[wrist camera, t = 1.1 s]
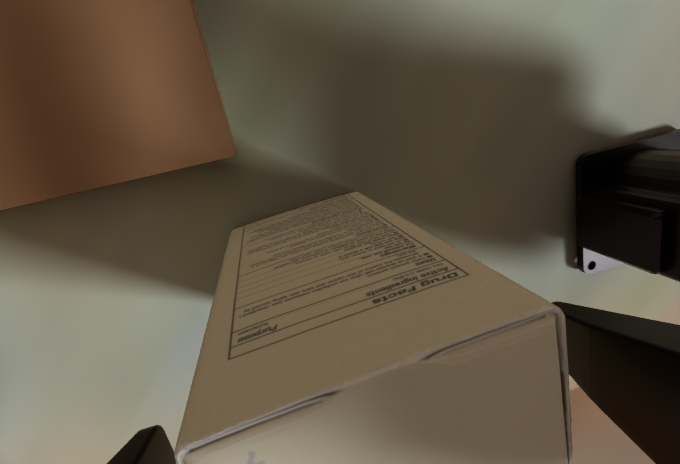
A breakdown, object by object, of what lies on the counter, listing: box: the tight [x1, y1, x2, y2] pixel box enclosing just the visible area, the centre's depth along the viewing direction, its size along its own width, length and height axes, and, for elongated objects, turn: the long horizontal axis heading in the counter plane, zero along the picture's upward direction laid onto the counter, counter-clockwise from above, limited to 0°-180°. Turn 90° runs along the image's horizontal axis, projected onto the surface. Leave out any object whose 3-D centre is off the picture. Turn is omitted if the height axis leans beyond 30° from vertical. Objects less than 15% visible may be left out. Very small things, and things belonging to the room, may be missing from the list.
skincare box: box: [174, 192, 572, 464], centre depth 12 cm, size 6×4×12 cm
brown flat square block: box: [0, 0, 238, 210], centre depth 13 cm, size 10×10×2 cm
